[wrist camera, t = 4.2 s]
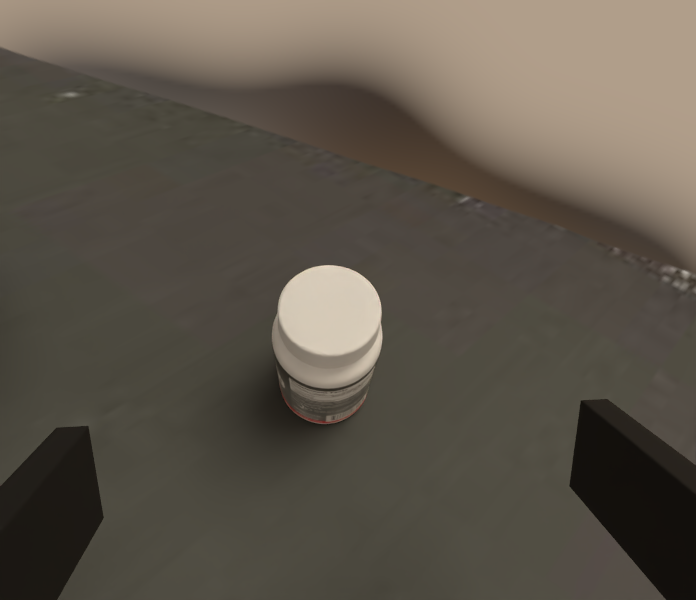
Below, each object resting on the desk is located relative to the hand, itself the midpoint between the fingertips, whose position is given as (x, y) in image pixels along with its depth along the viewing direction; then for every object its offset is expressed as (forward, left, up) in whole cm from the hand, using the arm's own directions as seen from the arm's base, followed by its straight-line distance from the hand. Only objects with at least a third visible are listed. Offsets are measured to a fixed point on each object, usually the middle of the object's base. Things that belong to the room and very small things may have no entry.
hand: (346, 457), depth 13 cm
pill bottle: (-4, +5, -11) cm, 13 cm away
